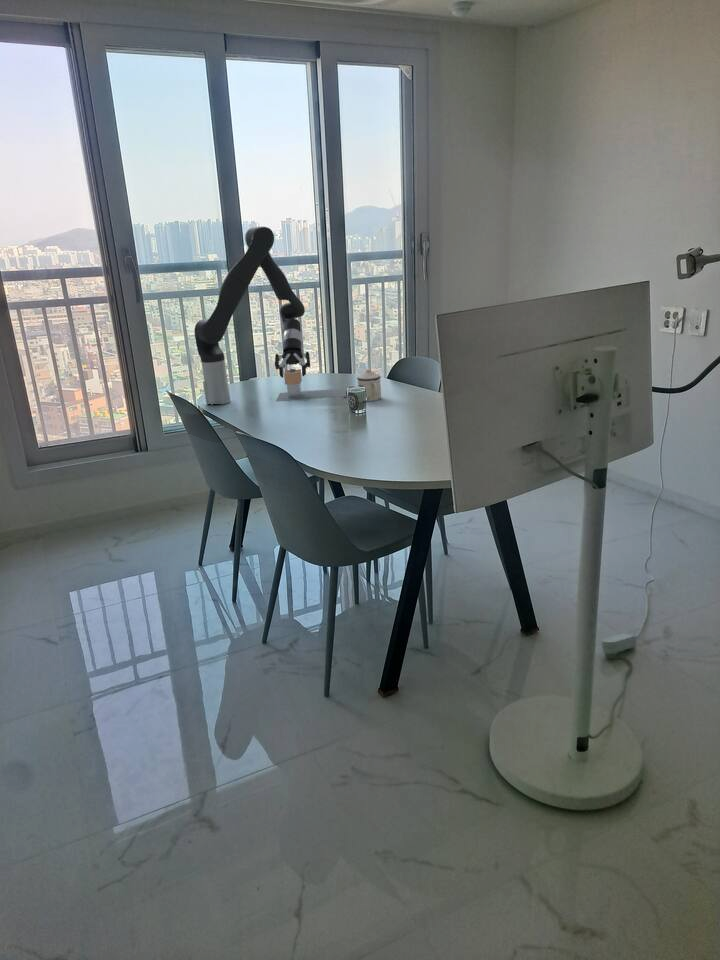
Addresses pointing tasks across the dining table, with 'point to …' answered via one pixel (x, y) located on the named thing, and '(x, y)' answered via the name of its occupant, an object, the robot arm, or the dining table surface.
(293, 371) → the cap lid
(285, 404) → the dining table surface
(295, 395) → the steel tin
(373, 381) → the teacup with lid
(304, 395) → the slate mat
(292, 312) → the robot arm
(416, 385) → the dining table surface
